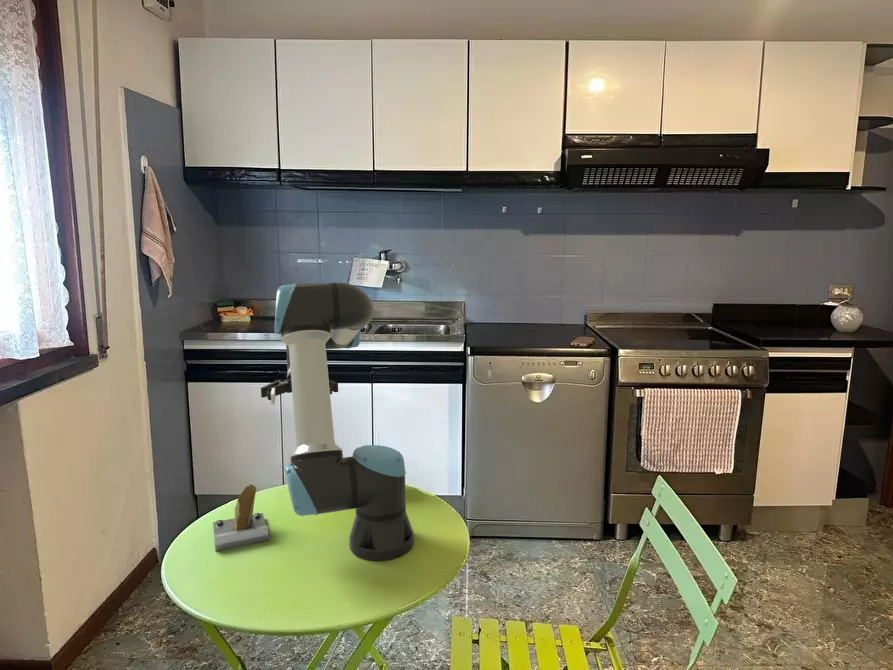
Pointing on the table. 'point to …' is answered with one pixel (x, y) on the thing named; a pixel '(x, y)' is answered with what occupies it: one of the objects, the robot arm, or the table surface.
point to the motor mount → (240, 533)
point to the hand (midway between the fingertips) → (300, 397)
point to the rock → (244, 508)
